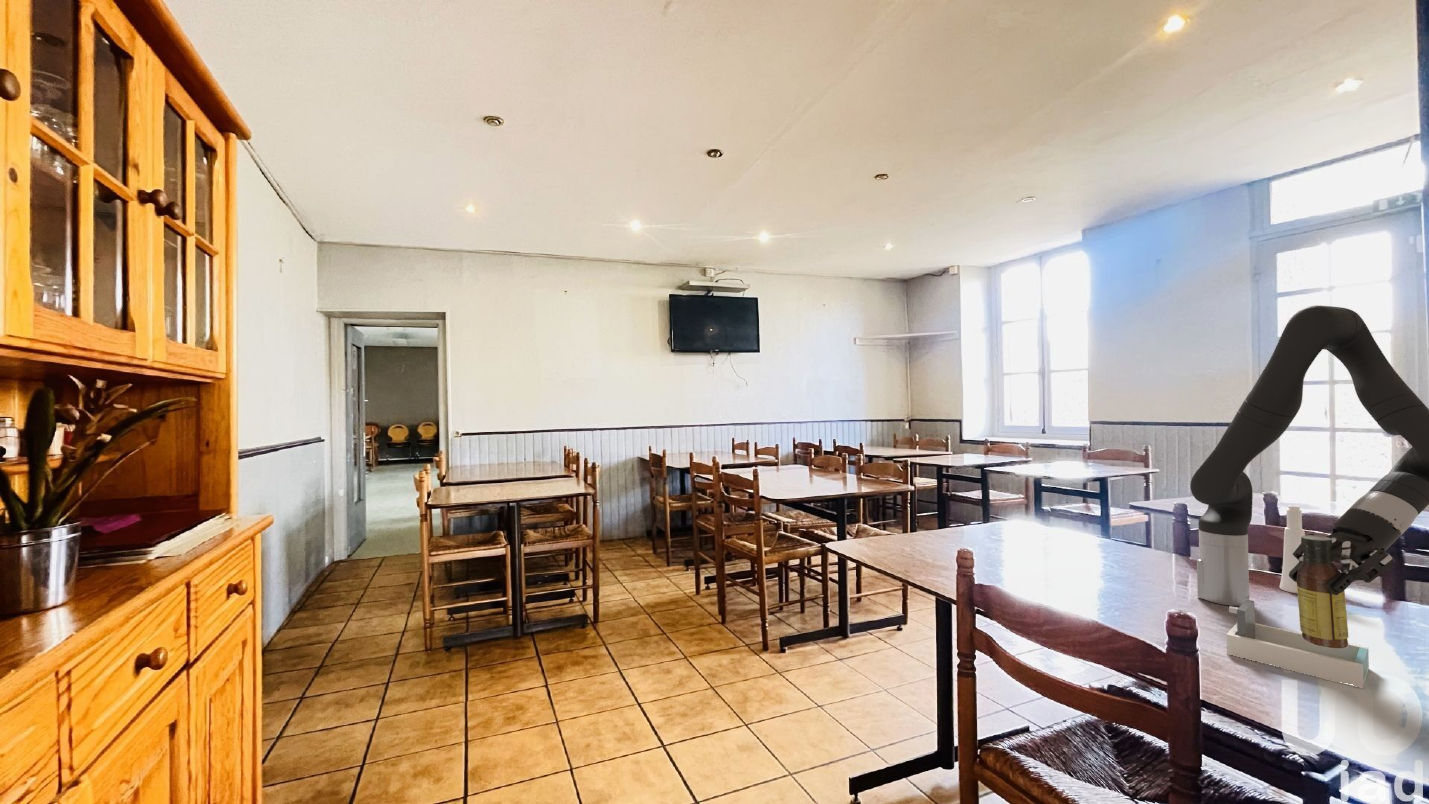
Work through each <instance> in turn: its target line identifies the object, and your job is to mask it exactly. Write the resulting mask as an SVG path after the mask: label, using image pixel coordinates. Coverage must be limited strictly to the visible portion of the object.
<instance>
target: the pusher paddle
mask: <svg viewBox="0 0 1429 804" xmlns="http://www.w3.org/2000/svg"><path fill="white" fill-rule="evenodd" d="M1228 606H1229V608H1228V612H1229V613H1232V614H1236V623H1237V635H1238V636H1243V637H1247V638H1251V639H1255V623H1256V616H1255V615H1256V614H1255V601H1254V600H1251V599H1249V600H1247V599H1246V601H1245V602H1244V603H1243V604H1242V605H1241V606H1238V607H1237V606H1230V605H1228Z"/></svg>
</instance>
